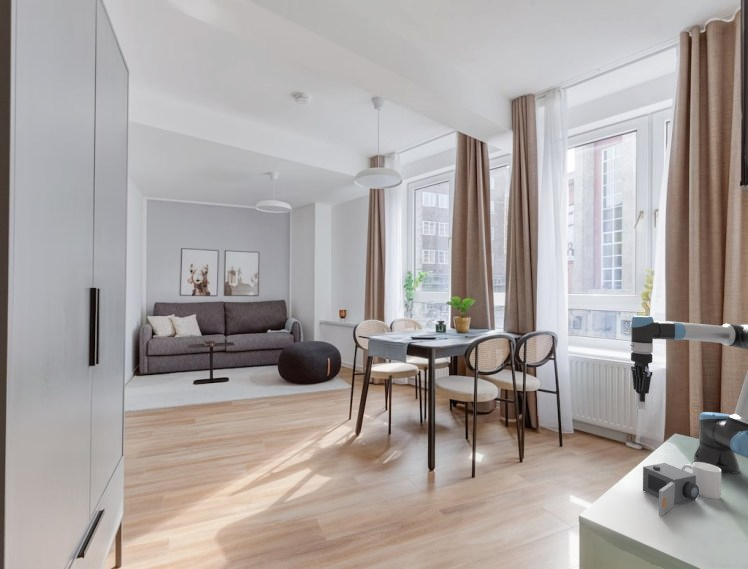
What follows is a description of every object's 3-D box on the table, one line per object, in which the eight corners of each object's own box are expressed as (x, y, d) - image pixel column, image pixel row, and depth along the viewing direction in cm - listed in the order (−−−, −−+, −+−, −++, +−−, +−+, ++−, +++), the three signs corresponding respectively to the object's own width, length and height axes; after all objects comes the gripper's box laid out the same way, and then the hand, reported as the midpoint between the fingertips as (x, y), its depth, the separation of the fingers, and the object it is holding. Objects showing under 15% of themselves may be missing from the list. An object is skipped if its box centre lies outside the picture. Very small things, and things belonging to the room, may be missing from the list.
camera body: (664, 486, 155) (664, 460, 155) (702, 503, 142) (703, 475, 142) (642, 490, 150) (642, 464, 150) (680, 508, 138) (680, 480, 138)
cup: (717, 501, 144) (717, 473, 144) (677, 488, 153) (677, 461, 154) (723, 495, 149) (724, 468, 149) (684, 482, 158) (684, 456, 158)
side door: (658, 514, 134) (658, 490, 134) (671, 504, 140) (671, 481, 140) (664, 516, 132) (664, 492, 132) (676, 506, 139) (677, 483, 139)
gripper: (624, 349, 175) (623, 403, 174) (639, 354, 162) (638, 412, 161) (643, 350, 174) (642, 405, 173) (659, 355, 161) (658, 414, 160)
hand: (640, 408), depth 167 cm, fingers closed
